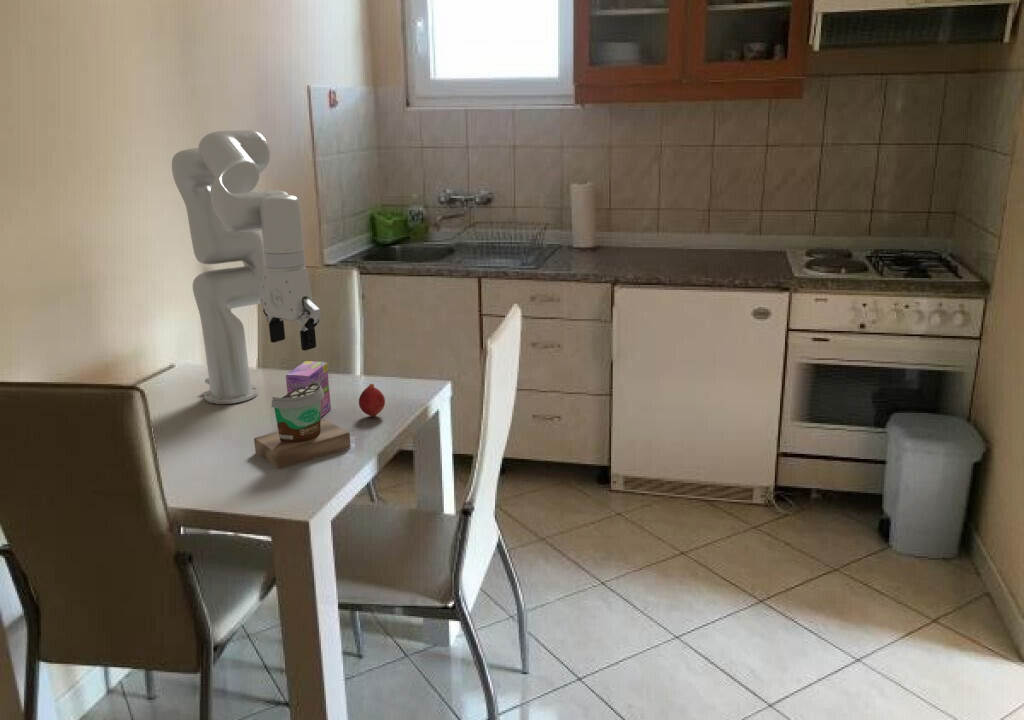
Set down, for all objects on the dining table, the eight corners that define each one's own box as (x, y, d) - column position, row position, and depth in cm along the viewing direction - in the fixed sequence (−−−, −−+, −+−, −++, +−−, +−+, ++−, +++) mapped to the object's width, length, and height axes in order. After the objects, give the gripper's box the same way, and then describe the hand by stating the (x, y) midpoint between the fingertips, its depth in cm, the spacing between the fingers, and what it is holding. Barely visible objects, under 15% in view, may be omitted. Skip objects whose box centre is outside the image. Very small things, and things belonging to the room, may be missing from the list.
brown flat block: (256, 456, 175) (253, 438, 174) (325, 436, 185) (324, 418, 184) (279, 472, 167) (277, 453, 166) (350, 450, 177) (349, 432, 176)
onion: (363, 423, 190) (360, 389, 188) (357, 414, 195) (354, 382, 193) (388, 418, 192) (386, 385, 190) (382, 411, 197) (379, 378, 195)
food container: (298, 450, 167) (294, 403, 164) (275, 444, 170) (270, 397, 167) (339, 428, 178) (336, 384, 174) (316, 423, 180) (313, 378, 177)
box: (313, 425, 189) (308, 375, 186) (289, 424, 191) (284, 374, 187) (332, 409, 199) (327, 361, 196) (309, 408, 200) (304, 360, 197)
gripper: (241, 258, 166) (251, 342, 171) (298, 268, 156) (306, 356, 161) (273, 252, 172) (281, 334, 177) (329, 261, 162) (336, 347, 167)
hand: (293, 344), depth 169 cm, fingers open, 9 cm apart
